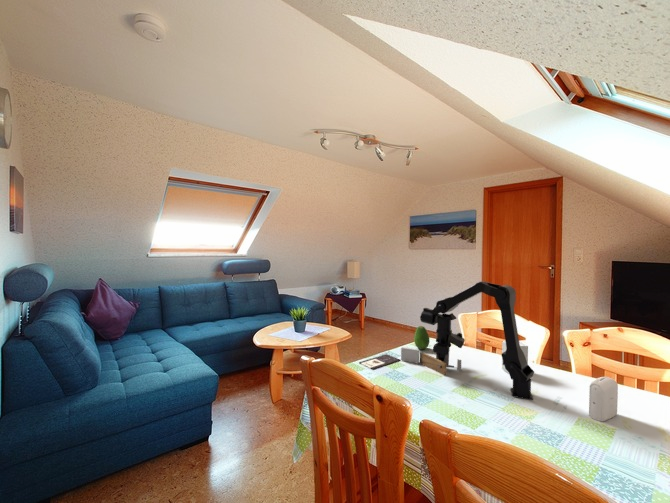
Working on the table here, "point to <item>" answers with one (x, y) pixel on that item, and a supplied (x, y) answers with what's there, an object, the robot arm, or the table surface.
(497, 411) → the table surface
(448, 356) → the block
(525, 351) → the supplement box
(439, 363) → the oak door
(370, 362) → the chocolate bar
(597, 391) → the photo printer
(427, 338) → the fruit
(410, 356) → the frame
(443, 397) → the table surface
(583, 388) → the table surface
